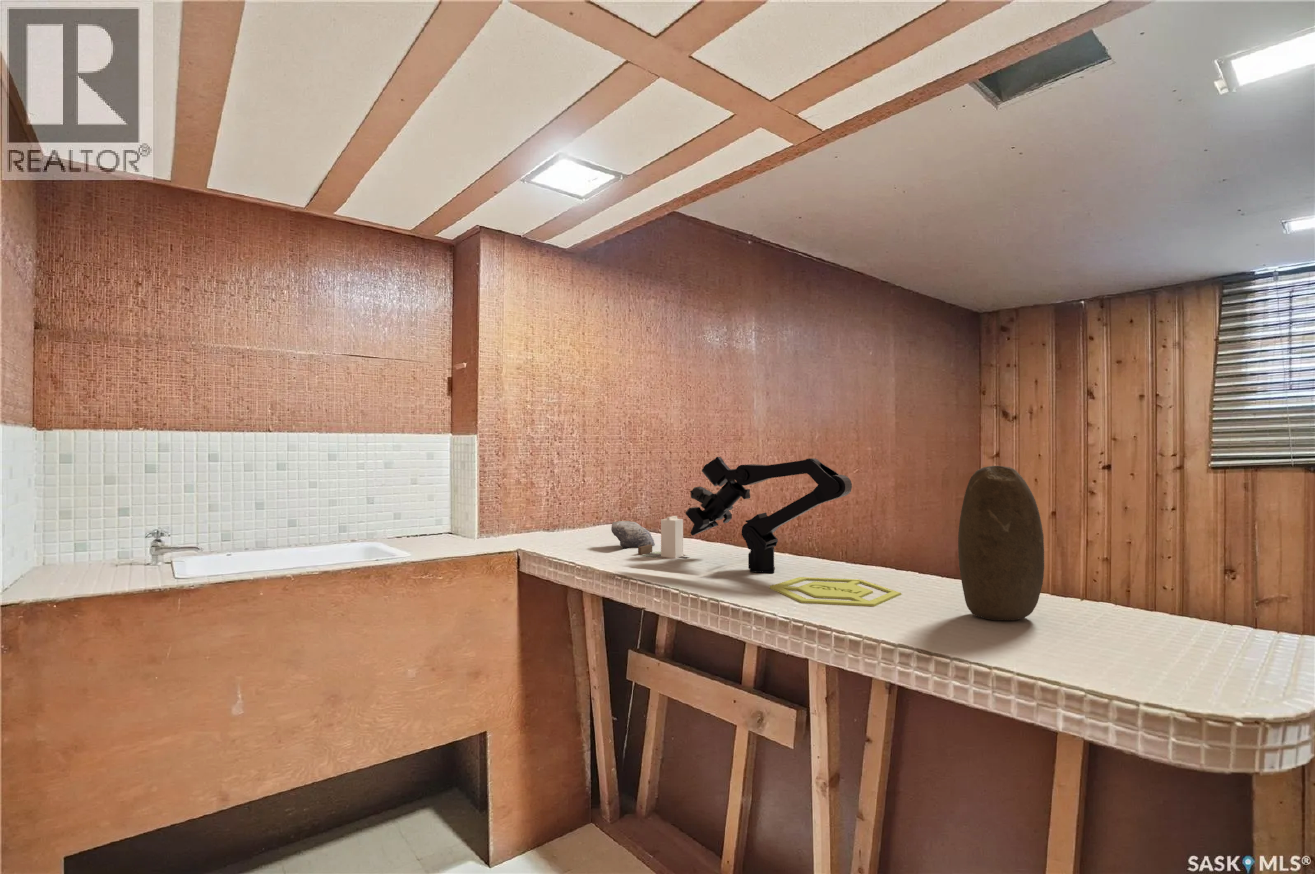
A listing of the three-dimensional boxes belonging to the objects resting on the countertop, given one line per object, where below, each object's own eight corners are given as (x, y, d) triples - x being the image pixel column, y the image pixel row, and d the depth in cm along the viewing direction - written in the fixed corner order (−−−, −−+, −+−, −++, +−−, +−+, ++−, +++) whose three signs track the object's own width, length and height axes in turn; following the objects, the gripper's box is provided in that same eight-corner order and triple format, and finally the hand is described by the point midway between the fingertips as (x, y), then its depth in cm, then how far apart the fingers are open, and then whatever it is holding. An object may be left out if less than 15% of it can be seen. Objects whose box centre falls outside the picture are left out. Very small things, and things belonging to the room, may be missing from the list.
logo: (914, 586, 150) (858, 610, 128) (914, 589, 150) (858, 614, 128) (816, 572, 168) (751, 591, 146) (816, 575, 168) (751, 594, 146)
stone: (947, 613, 127) (946, 465, 128) (999, 606, 133) (997, 464, 134) (1004, 630, 116) (1002, 467, 116) (1058, 621, 121) (1055, 465, 122)
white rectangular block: (683, 555, 189) (683, 516, 189) (675, 558, 185) (675, 517, 185) (669, 554, 191) (668, 515, 192) (661, 556, 188) (660, 516, 188)
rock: (637, 559, 203) (632, 530, 201) (607, 549, 216) (602, 522, 214) (662, 548, 210) (658, 520, 208) (631, 539, 222) (628, 512, 221)
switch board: (697, 559, 189) (697, 547, 189) (680, 565, 181) (680, 552, 181) (650, 554, 198) (650, 543, 198) (632, 559, 190) (632, 547, 190)
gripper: (722, 476, 190) (690, 510, 196) (691, 479, 174) (658, 516, 180) (746, 503, 185) (713, 538, 191) (717, 509, 170) (681, 546, 176)
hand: (691, 534), depth 185 cm, fingers closed
